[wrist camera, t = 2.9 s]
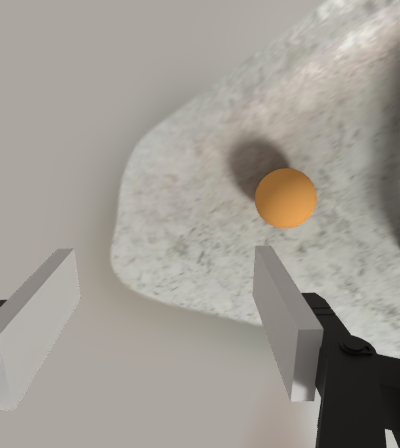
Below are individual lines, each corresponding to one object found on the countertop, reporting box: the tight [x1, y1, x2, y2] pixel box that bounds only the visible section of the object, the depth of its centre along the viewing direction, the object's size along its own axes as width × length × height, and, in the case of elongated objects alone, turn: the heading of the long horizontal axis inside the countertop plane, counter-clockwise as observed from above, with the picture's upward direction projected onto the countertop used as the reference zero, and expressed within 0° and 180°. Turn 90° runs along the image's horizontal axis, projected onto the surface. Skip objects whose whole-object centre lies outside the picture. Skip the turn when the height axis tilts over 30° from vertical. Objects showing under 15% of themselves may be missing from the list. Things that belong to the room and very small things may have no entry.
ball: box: [255, 168, 317, 228], centre depth 30 cm, size 6×6×6 cm
